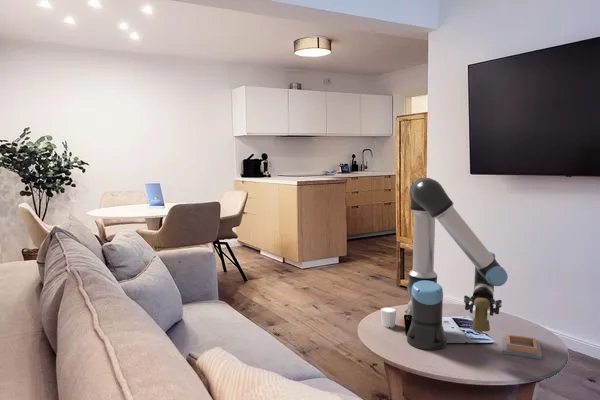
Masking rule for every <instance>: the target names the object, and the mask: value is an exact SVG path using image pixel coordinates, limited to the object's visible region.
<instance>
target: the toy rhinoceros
mask: <svg viewBox="0 0 600 400" xmlns="http://www.w3.org/2000/svg"><path fill="white" fill-rule="evenodd" d="M404 313H405V314H406V315H407V316H408V315H412V302H411V299H410V300H408V303H407V307H406V308H405V309H404Z"/></svg>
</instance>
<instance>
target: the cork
mask: <svg viewBox="0 0 600 400" xmlns="http://www.w3.org/2000/svg"><path fill="white" fill-rule="evenodd" d="M474 305H475V307H476V311H475V318H472V325H471V328H472V330H474V331H477V332H485V333H486V332H489V331H490V330H491V327H490V320H487V312H488V308H489V306H490V302H489V300H488V299H486V298H476V299H475V301H474Z"/></svg>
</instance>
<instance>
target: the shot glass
mask: <svg viewBox="0 0 600 400" xmlns="http://www.w3.org/2000/svg"><path fill="white" fill-rule="evenodd" d="M380 317H381V318H380V319H381V320H380V321H381V326H382V327H384V328H389V327H390V328H394V327H395V326H396V319H397V309H396V308H394V307H390V306H389V307H387V306H385V307H382V308H380Z"/></svg>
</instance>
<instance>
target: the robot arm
mask: <svg viewBox="0 0 600 400" xmlns="http://www.w3.org/2000/svg"><path fill="white" fill-rule="evenodd" d="M409 198H410V211H411V212H412V213H413V237H412V238H413V241H412V244H413V246H412V248H413V249H412V269H411V270H410V271H409V272H408V282H407V286H406V291H407V295H408V297H409V299H410V300H411V302H412V317H411V323H410V325H409V328H408V331H407V334H406V342H407V343H408V344H409V345H410V346H412V347H415V348H417V349H421V350H425V351H426V350H428V351H436V350H442V349H443V348H446V346H447V335H446V332H445V329H444V326H443V303H444V302H443V301H444V299H443V298H444V292H443V291H444V289H443V287H442V285H441V284H439V283H438V274H437V273H436V272H435V270H434V267H435V266H434V265H435V237H436V220H437V221H438V222H439V223H440V224H441V226H442V228H444V230H445V231H446V233H448V234H449V236H450V237H451V239H452V240H453V241H454V242H455V243H456V245H457V246H458V247H459V248H460V249H461V251H462V252H463V254H464V255H466V257H467V258H468V260H469V261H471V262H470V263H472V264H473V266H474V284H473V292H472V296H471V297H470V296H468V295H464V297H463V303H464V310H466V311H469V313H470V314H472V319H473V318H475V311H476V307H475V305H474V301H475V299H476V298H486V299H488V300H489V302H490V306H489V308H488V312H487V320H489V321H490V318H491V317H493V316H494V314H495V315H499V314H500V308H502V305H503V303H502V302H503V301H502V299H494V295H495V294H494V291H495V287H502V286H504V285H505V284H506V283H507V281H508V276H509V275H508V272H507V271H506V270H505V268H503V266H501V264H500V263H499V262H498V261H497V259H496V254H495V253H494V252H491V251H489V250H488V249H487V247H486V246H485V245H484V243H483V242H482V241H481V240H480V239H479V237H478V236H477V235H476V234H475V232H474V231H473V230H472V228H471V227H470V226H469V225H468V224H467V222H466V221H465V220H464V219H463V218H462V216H461V215H460V213H459V212H458V211H457V210H456V209H455V207H454V202H453V200H452V199H451V198H450V197H449V195H448V193H446V190H445V189H444V187H443V186H442V184H441V183H440V182H439V181H437V180H435V179H433V178H431V177H426V176H425V177H419V178H418V179H416V180H414V181H413V182H412V183H411V185H410V187H409ZM470 302H471V303H470ZM494 306H495V307H494ZM490 316H491V317H490Z"/></svg>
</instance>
